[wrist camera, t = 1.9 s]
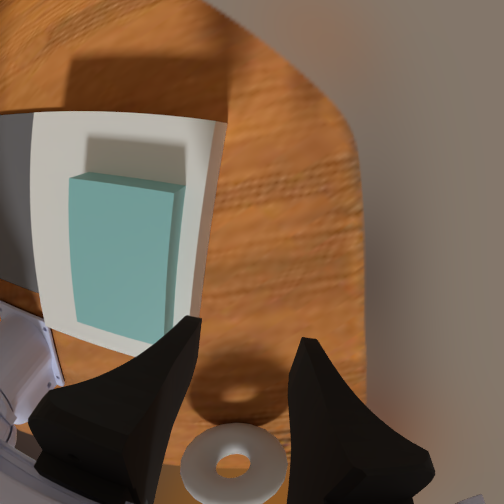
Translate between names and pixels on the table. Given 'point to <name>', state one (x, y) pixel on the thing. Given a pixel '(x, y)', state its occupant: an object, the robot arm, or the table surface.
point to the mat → (16, 201)
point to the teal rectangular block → (125, 253)
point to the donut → (223, 444)
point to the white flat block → (128, 165)
